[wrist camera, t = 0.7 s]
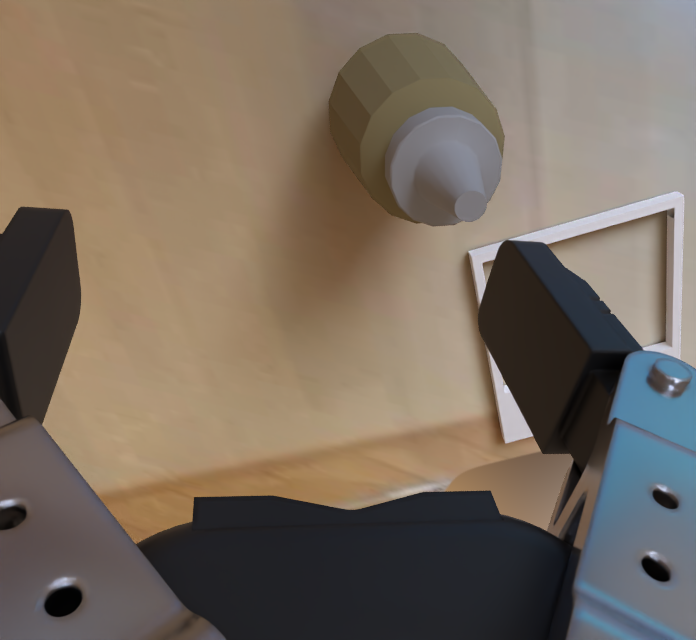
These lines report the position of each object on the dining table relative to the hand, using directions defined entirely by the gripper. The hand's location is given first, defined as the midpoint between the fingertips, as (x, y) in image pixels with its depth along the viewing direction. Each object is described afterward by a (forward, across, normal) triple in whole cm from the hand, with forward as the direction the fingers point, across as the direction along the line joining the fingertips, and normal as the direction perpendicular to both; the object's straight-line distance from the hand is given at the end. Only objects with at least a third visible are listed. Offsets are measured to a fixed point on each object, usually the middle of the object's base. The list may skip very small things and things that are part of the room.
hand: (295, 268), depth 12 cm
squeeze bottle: (+27, -8, +4) cm, 29 cm away
